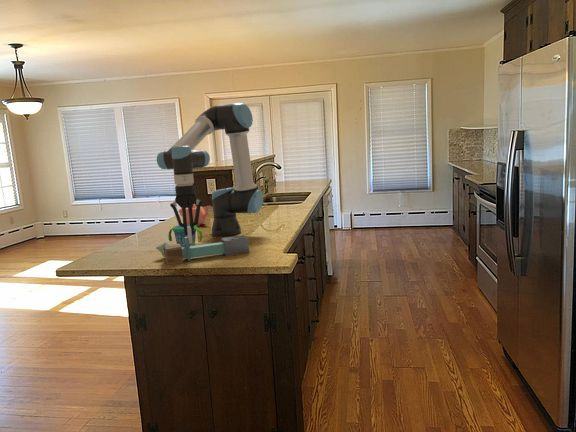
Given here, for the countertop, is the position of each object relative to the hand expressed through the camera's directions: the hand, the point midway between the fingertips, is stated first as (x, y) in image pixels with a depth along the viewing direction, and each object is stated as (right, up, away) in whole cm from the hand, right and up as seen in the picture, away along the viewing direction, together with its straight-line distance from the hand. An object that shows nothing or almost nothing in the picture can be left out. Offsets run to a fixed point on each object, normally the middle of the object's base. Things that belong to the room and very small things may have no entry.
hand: (190, 242), depth 187 cm
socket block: (-6, -8, -1) cm, 10 cm away
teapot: (-14, +5, +82) cm, 83 cm away
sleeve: (+18, -5, +7) cm, 20 cm away
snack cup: (-6, -4, +22) cm, 23 cm away
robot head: (-11, -7, +7) cm, 15 cm away
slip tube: (+5, -6, +3) cm, 8 cm away
